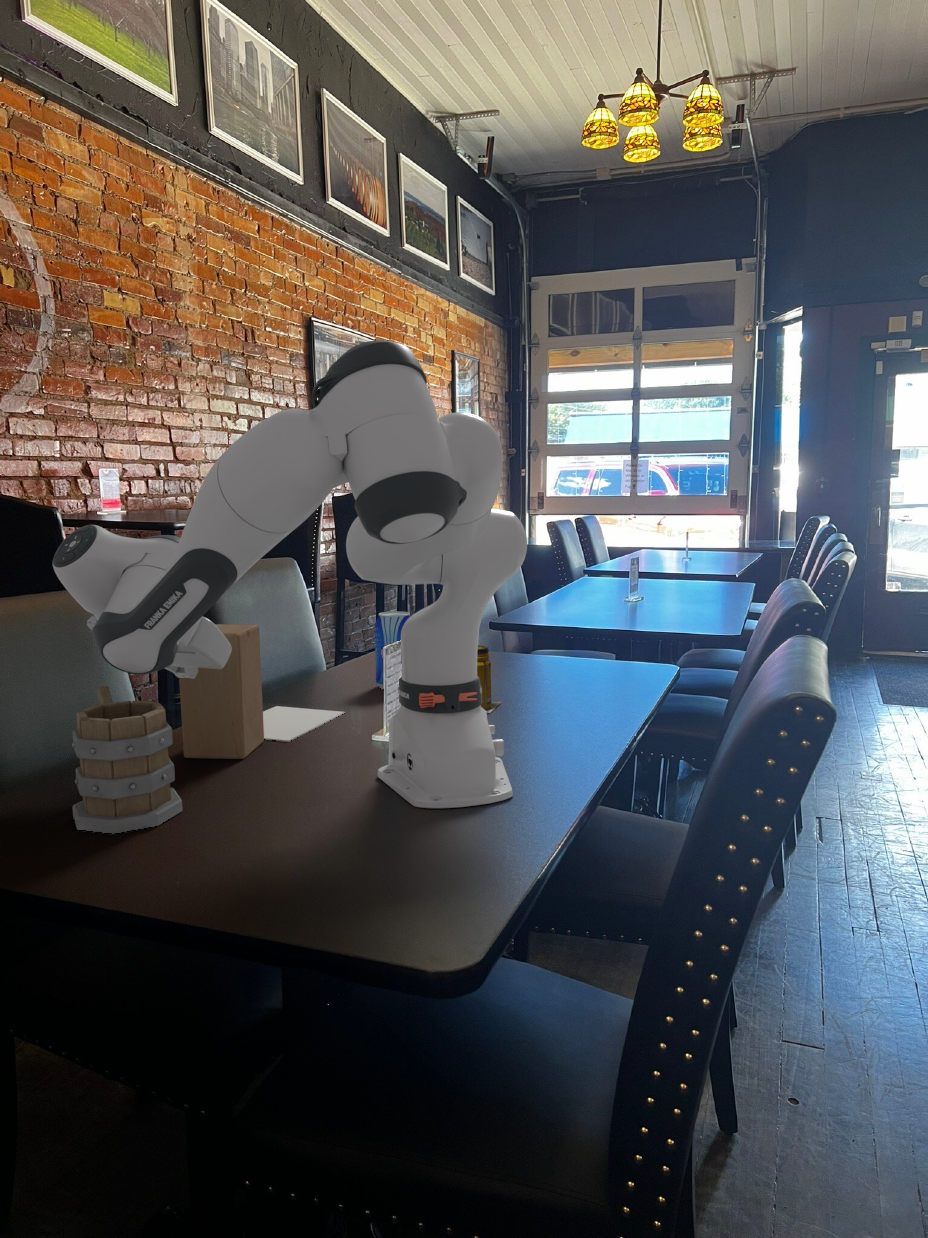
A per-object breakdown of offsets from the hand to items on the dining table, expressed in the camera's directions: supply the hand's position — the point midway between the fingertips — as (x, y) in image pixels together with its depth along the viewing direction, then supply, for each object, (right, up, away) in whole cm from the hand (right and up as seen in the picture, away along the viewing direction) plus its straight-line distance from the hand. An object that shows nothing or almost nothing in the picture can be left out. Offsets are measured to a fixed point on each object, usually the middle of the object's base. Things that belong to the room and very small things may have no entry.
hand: (188, 674), depth 129 cm
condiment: (+44, -9, +36) cm, 58 cm away
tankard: (-4, -17, -16) cm, 23 cm away
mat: (+9, -11, +25) cm, 29 cm away
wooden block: (+3, -13, +9) cm, 16 cm away
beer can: (+27, -6, +54) cm, 60 cm away
